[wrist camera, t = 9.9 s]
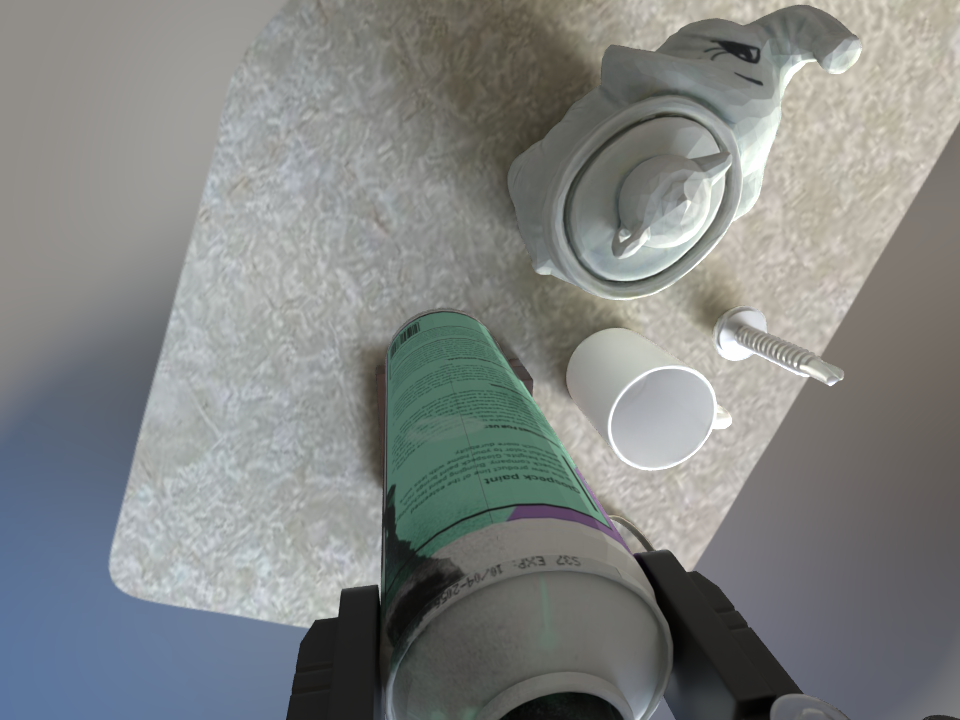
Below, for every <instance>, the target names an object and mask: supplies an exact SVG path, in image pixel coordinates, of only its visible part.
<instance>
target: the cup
mask: <svg viewBox="0 0 960 720" xmlns="http://www.w3.org/2000/svg"><path fill="white" fill-rule="evenodd" d="M566 382H567V387H568V390H569V393H570V395H571V397H572V399H573V401H574V402H575V404H576V405H577V406H578V408H579V409H580V410H581V411H582V413H583V414H584V415H585V416H586V418H587V419H588V420H589V421H590V423H591V424H592V425H593V426H594V428H595V429H596V430H597V431H598V433H599V434H600V435H601V436H602V437H603V439H604V440H605V441H606V442H607V444H608V445H609V446H610V447H611V449H612V450H613V451H614V452H615V454H616V455H617V456H618V457H619V458H620V459H621V460H622V461H624V462H625V463H627V464H628V465H630V466H633V467H635V468H638V469H643V470H660V469H665V468H669V467H672V466H675V465H677V464H679V463H681V462H683V461H684V460H686V459H688V458H689V457H690V456H692V455H693V454H694V453H695V452H696V451H697V450H698V449H699V448H700V447H701V446H702V445H703V443H704V442H705V441H706V439H707V438H708V436H709V434H710V432H711V430H712V428H714V429H723V428H726V427H728V426H729V425H730V424H731V416H730V414H729V413H728V412H727V411H726V410H725V409H724V408H723V407H722V406H720V405H719V404H718V403H716V397H715V393H714V391H713V388H712V386H711V384H710V383H709V381H708V380H707V379H706V378H705V377H704V376H703V375H702V374H701V373H699V372H698V371H696V370H695V369H693V368H692V367H690V366H689V365H687V364H686V363H684V362H682V361H681V360H679V359H678V358H676V357H675V356H673V355H672V354H670V353H669V352H667V351H665V350H664V349H662V348H661V347H659V346H658V345H656V344H655V343H653V342H651V341H650V340H648V339H647V338H645V337H644V336H642V335H640V334H638V333H636V332H634V331H631V330H628V329H623V328H610V329H605V330H602V331H599V332H596V333H594V334H592V335H591V336H589V337H588V338H586V339H585V340H584V341H583V342H582V343H581V344H580V345H579V346H578V347H577V348H576V350H575V351H574V353H573V354H572V356H571V358H570V361H569V363H568V367H567V374H566Z"/></svg>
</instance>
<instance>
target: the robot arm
mask: <svg viewBox="0 0 960 720" xmlns="http://www.w3.org/2000/svg"><path fill="white" fill-rule="evenodd" d="M633 556H634V558H635V559H636V561H637V562H638V564H639V566H640V567H641V569H642V570H643V572H644V574H645V576H646V577H647V579H648V581H649V583H650V585H651V586H652V588H653V590H654V594H655V598H656V602H657V605H658V607H659V608H660V610H661V612H662V614H663V616H664V617H665V619H666V621H667V623H668V625H669V629H670V633H671V637H672V641H673V667H672V671H671V675H670V679H669V683H668V687H667V689H666V691H665V693H664V695H663V696H664V698H665V700H666V702H667V704H668V706H669V708H670V710H671V711H672V713H673V715H674V717H675V719H676V720H850V719H849V718H848V717H847V716H846V715H845V714H843V713H842V712H841V711H840V710H838V709H837V708H835V707H834V706H832V705H830V704H829V703H827V702H825V701H822V700H821V699H818V698H815V697H813V696H809V695H805V694H804V693H803V692H802V691H801V690H800V689H799V687H798V686H797V685H796V684H795V682H794V681H793V680H792V679H791V677H790V676H789V675H788V674H787V672H786V671H785V670H784V669H783V667H782V666H781V665H780V664H779V662H778V661H777V660H776V659H775V657H774V656H773V655H772V654H771V652H770V651H769V650H768V648H767V647H766V646H765V645H764V643H763V642H762V641H761V640H760V638H759V637H758V636H757V635H756V633H755V632H754V631H753V630H752V628H749V627H748V625H747V622H746V621H745V620H744V618H743V617H742V616H741V615H740V613H739V612H738V611H735V609H734V606H733V605H732V603H731V602H730V601H729V599H728V598H727V597H726V596H725V595H724V593H723V592H722V591H721V589H720V588H719V587H718V586H717V585H715V584H714V583H712V582H711V581H710V580H708V579H706V578H705V577H704V576H702V575H701V574H700V573H698V572H697V571H693V572H686V571H685V570H684V568H683V567H682V565H681V564H680V563H679V561H678V560H677V559H676V557H675V556H674V555H673V554H672V552H670V551H669V550H659V551H651V552H642V553H635V554H634V555H633ZM380 609H381V608H380V597H379V588H378V585H370V586H362V587H354V588H346V589H342V591H341V597H340V606H339V615H338V617H336V618H328V619H321V620H315V622H314V623H313V625H312V626H311V628H310V629H309V631H308V632H307V634H306V635H305V637H304V639H303V640H302V642H301V643H300V648H299V653H298V659H297V664H296V674H295V675H294V680H293V686H292V695H291V696H290V701H289V707H288V712H287V718H286V720H385V693H384V690H383V685H382V681H381V675H380V665H379V660H380ZM923 720H960V719H958V718H954V717H950V716H944V715H933V716H929V717H926V718H924V719H923Z"/></svg>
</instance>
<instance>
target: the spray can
mask: <svg viewBox="0 0 960 720" xmlns="http://www.w3.org/2000/svg"><path fill="white" fill-rule="evenodd" d="M380 608H381V609H380V660H379V665H380V675H381V681H382V685H383V690H384V693H385V714H386V718H387V720H648V719H649V718H650V717H651V715H652V714H653V713H654V711H655V710H656V709H657V707H658V705H659V703H660V701H661V699H662V697H663V695H664V693H665V691H666V689H667V687H668V683H669V679H670V675H671V671H672V667H673V641H672V637H671V633H670V629H669V625H668V623H667V621H666V619H665V617H664V616H663V614H662V612H661V610H660V608H659V607H658V605H657V602H656V598H655V594H654V590H653V588H652V586H651V585H650V583H649V581H648V579H647V577H646V576H645V574H644V572H643V570H642V569H641V567H640V566H639V564H638V562H637V561H636V559H635V558H634V556H633V555H632V553H631V551H630V550H629V548H628V547H627V545H626V544H625V542H624V541H623V539H622V537H621V536H620V534H619V533H618V531H617V530H616V528H615V526H614V525H613V523H612V522H611V520H610V519H609V517H608V515H607V514H606V512H605V511H604V509H603V508H602V506H601V505H600V503H599V501H598V500H597V498H596V497H595V495H594V494H593V492H592V490H591V489H590V487H589V486H588V484H587V483H586V481H585V479H584V478H583V476H582V475H581V473H580V472H579V470H578V469H577V467H576V465H575V464H574V462H573V461H572V459H571V458H570V456H569V454H568V453H567V451H566V450H565V448H564V447H563V445H562V443H561V442H560V440H559V439H558V437H557V436H556V434H555V433H554V431H553V429H552V428H551V426H550V425H549V423H548V422H547V420H546V418H545V417H544V415H543V414H542V412H541V411H540V409H539V407H538V406H537V404H536V403H535V401H534V400H533V398H532V397H531V395H530V393H529V392H528V390H527V389H526V387H525V386H524V384H523V382H522V381H521V379H520V378H519V376H518V375H517V373H516V372H515V370H514V368H513V367H512V365H511V364H510V362H509V361H508V359H507V357H506V356H505V354H504V353H503V351H502V350H501V348H500V346H499V345H498V343H497V342H496V340H495V339H494V337H493V336H492V334H491V332H490V331H489V330H488V329H487V328H486V327H485V326H484V324H482V322H480V321H479V320H478V319H476V318H475V317H474V316H472V315H470V314H468V313H466V312H464V311H460V310H456V309H452V308H437V309H430V310H427V311H424V312H421V313H418V314H417V315H415V316H413V317H412V318H410V319H408V320H407V321H406V322H405V323H404V324H403V325H402V326H400V328H399V329H398V330H397V332H396V333H395V334H394V336H393V338H392V340H391V342H390V344H389V346H388V351H387V355H386V361H385V406H384V456H383V506H382V556H381V605H380Z"/></svg>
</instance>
